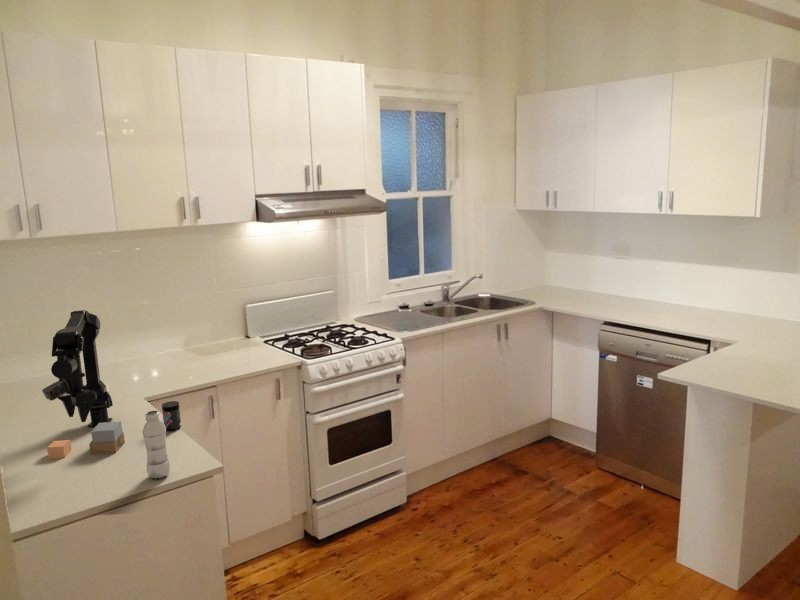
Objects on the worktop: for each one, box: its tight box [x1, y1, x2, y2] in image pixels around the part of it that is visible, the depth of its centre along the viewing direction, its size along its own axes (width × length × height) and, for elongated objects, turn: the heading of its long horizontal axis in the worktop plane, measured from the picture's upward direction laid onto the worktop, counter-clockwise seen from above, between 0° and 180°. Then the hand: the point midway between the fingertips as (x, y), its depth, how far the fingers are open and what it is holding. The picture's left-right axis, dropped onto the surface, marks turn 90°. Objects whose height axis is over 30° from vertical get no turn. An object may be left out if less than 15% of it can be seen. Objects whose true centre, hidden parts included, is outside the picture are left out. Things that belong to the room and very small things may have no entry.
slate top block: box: [90, 420, 124, 443], centre depth 207 cm, size 7×7×4 cm
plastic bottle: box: [142, 410, 171, 480], centre depth 186 cm, size 6×7×20 cm
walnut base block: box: [89, 431, 126, 455], centre depth 208 cm, size 8×8×4 cm
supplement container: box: [161, 400, 182, 432], centre depth 222 cm, size 6×6×9 cm
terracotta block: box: [46, 439, 73, 459], centre depth 204 cm, size 5×5×4 cm
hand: (77, 419), depth 199 cm, fingers open, 9 cm apart
